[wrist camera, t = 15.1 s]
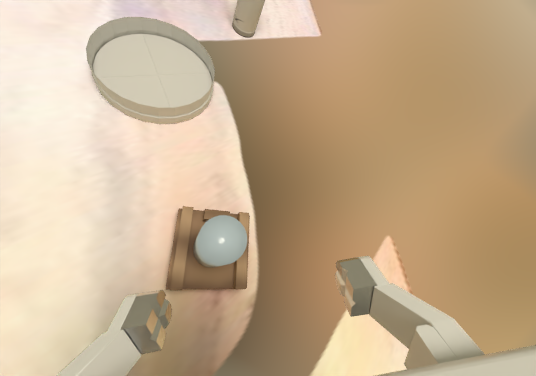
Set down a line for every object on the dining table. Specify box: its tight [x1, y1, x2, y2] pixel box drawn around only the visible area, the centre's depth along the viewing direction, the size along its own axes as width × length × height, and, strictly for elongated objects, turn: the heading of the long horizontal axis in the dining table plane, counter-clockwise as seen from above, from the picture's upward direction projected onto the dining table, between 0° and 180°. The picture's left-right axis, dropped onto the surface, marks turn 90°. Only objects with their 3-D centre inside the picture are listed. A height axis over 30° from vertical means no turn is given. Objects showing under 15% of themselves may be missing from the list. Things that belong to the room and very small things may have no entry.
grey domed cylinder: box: [193, 215, 247, 268], centre depth 31 cm, size 6×6×10 cm
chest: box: [166, 206, 250, 290], centre depth 36 cm, size 12×12×5 cm
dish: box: [86, 17, 215, 124], centre depth 44 cm, size 22×22×5 cm
